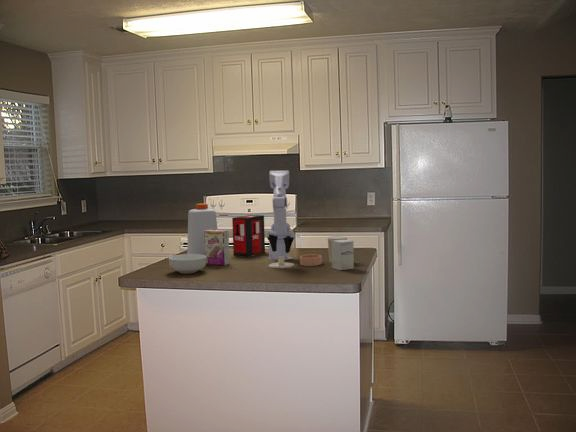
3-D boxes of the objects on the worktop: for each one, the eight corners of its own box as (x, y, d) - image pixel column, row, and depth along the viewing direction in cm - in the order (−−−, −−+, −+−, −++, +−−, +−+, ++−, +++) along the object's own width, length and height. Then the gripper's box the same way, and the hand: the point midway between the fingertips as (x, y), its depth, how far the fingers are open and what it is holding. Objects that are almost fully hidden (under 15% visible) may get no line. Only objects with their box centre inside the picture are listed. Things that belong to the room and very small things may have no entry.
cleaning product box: (247, 257, 295) (246, 218, 293) (233, 256, 299) (232, 217, 297) (265, 252, 309) (263, 215, 307) (251, 251, 314) (250, 215, 312)
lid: (263, 266, 264) (263, 257, 264) (278, 262, 273) (278, 254, 273) (283, 269, 257) (283, 259, 257) (298, 264, 267) (298, 255, 266)
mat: (263, 267, 264) (263, 266, 264) (278, 263, 274) (278, 262, 274) (283, 270, 257) (283, 269, 257) (299, 265, 267) (299, 264, 267)
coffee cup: (346, 264, 267) (346, 238, 266) (326, 264, 269) (326, 238, 268) (348, 260, 277) (348, 236, 275) (329, 260, 278) (328, 236, 277)
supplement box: (340, 270, 252) (339, 242, 251) (331, 268, 259) (330, 240, 258) (354, 268, 256) (353, 240, 255) (345, 266, 262) (344, 239, 261)
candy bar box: (204, 264, 276) (203, 230, 274) (210, 262, 280) (209, 229, 279) (224, 265, 271) (223, 231, 270) (230, 264, 276) (228, 230, 274)
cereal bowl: (189, 277, 246) (188, 260, 246) (161, 274, 255) (160, 258, 254) (214, 270, 261) (214, 254, 260) (187, 267, 269) (186, 252, 269)
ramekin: (295, 265, 268) (295, 256, 268) (308, 262, 276) (307, 253, 276) (313, 267, 262) (313, 258, 262) (325, 263, 270) (325, 255, 270)
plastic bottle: (213, 255, 304) (211, 202, 301) (222, 259, 290) (220, 204, 287) (185, 257, 297) (183, 203, 295) (193, 262, 284) (191, 205, 281)
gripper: (262, 222, 265) (263, 252, 266) (287, 224, 256) (288, 254, 257) (271, 221, 270) (272, 250, 271) (296, 222, 262) (297, 252, 263)
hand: (280, 252), depth 265 cm, fingers open, 7 cm apart
